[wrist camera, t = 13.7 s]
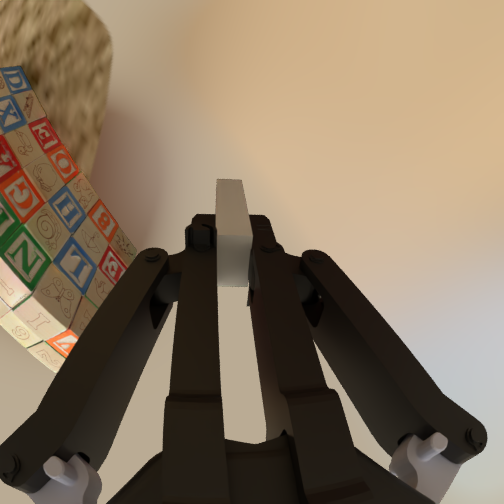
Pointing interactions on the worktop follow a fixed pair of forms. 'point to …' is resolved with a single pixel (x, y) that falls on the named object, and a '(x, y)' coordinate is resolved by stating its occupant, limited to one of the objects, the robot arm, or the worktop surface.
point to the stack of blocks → (49, 232)
